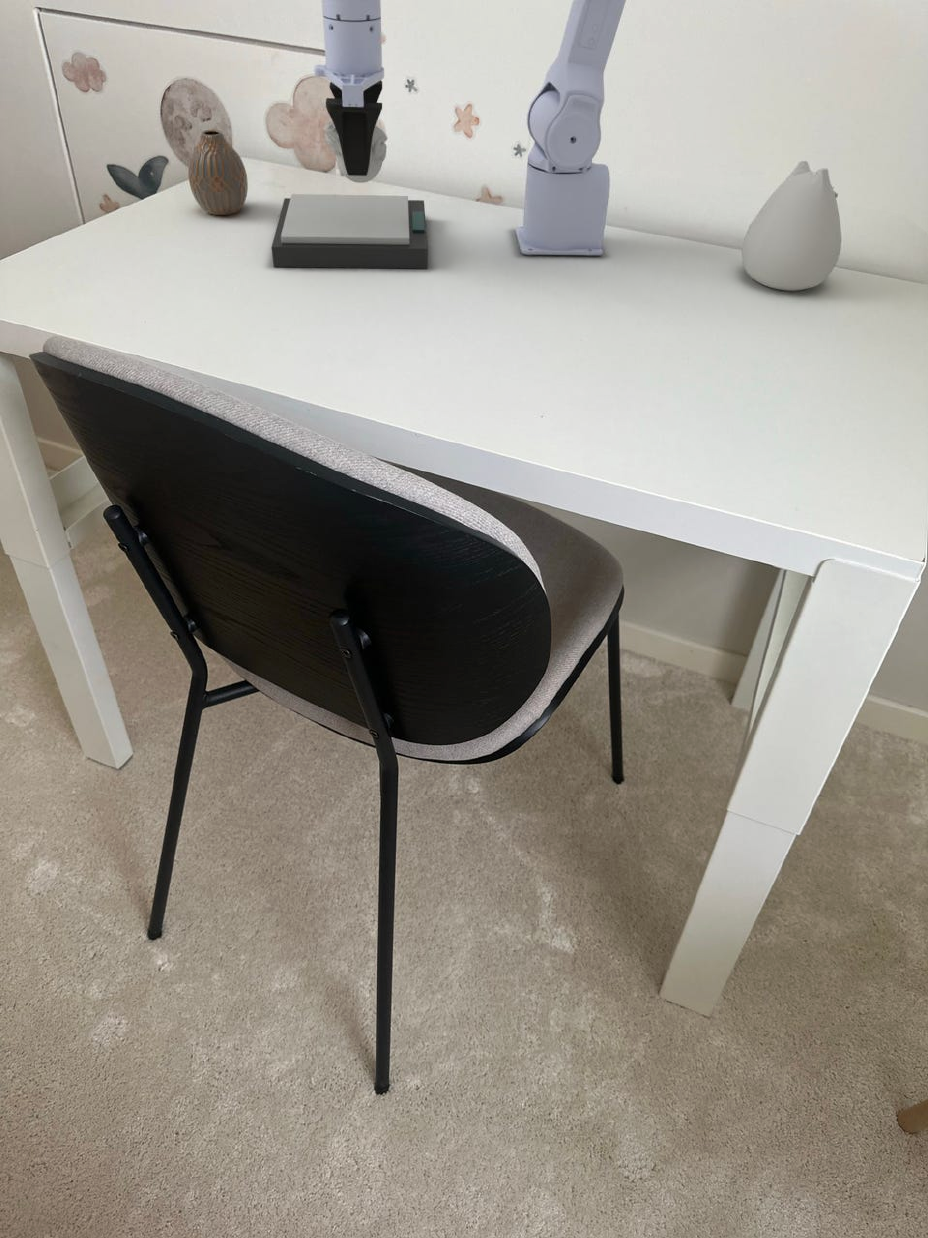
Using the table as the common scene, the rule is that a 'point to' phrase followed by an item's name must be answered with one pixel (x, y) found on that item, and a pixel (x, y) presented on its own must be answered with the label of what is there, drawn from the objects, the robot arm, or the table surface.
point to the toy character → (795, 233)
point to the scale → (351, 232)
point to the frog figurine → (375, 157)
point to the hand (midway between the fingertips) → (358, 165)
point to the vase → (217, 175)
